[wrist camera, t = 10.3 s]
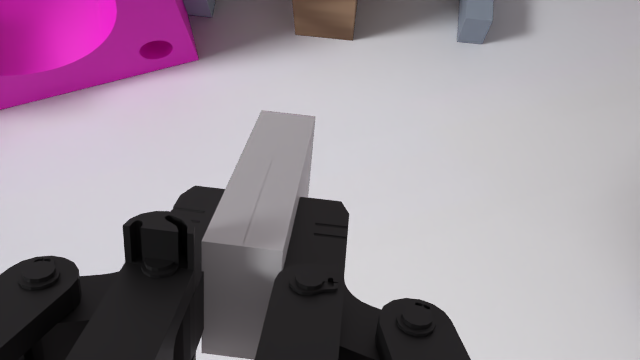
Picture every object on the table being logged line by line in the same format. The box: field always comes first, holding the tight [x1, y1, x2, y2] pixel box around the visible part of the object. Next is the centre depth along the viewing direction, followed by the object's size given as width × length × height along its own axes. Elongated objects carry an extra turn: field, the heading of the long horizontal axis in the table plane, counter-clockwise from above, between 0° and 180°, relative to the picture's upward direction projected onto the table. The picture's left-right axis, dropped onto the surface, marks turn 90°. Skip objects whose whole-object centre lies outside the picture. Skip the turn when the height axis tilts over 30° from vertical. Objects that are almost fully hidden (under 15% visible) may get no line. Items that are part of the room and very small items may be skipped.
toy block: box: [0, 0, 199, 110], centre depth 34 cm, size 15×6×8 cm, turn 106°
